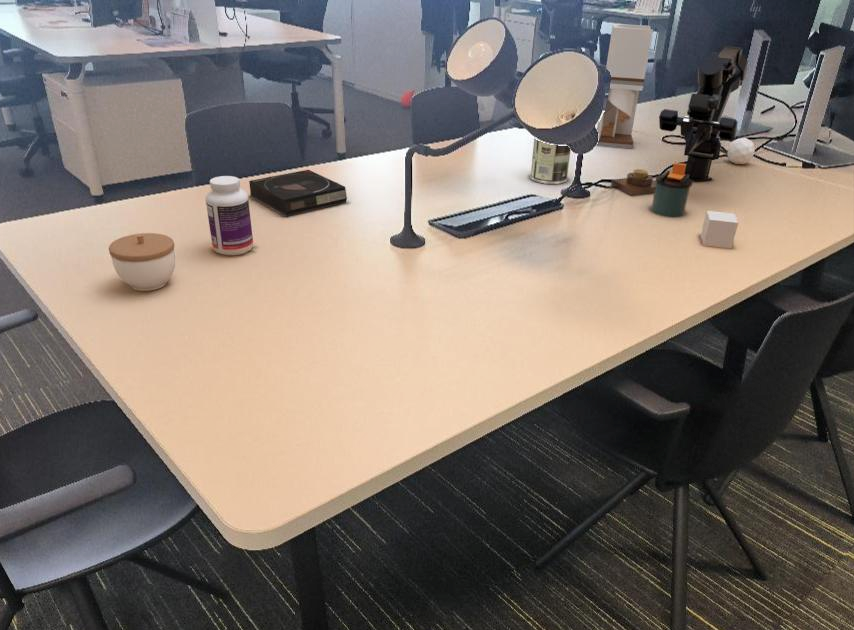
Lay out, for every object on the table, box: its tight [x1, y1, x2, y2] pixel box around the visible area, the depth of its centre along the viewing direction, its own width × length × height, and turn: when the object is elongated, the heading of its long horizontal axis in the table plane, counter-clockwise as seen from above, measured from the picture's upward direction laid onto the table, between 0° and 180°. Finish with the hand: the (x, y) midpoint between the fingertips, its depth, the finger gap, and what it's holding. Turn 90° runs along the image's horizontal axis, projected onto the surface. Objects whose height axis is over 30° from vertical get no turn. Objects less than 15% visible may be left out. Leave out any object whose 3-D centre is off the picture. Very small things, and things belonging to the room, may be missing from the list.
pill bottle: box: [205, 175, 254, 256], centre depth 139 cm, size 8×8×14 cm
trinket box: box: [108, 232, 176, 292], centre depth 125 cm, size 11×11×9 cm
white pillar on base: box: [596, 23, 654, 150], centre depth 221 cm, size 11×11×35 cm
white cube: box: [700, 210, 739, 249], centre depth 156 cm, size 6×6×6 cm
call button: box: [632, 168, 649, 179], centre depth 187 cm, size 4×4×2 cm
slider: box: [667, 162, 686, 180], centre depth 171 cm, size 5×3×3 cm
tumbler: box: [650, 170, 693, 218], centre depth 172 cm, size 9×9×9 cm
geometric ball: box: [726, 137, 756, 165], centre depth 213 cm, size 8×8×8 cm
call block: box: [610, 171, 657, 197], centre depth 188 cm, size 11×9×4 cm
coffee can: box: [529, 137, 571, 185], centre depth 190 cm, size 10×10×14 cm
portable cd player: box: [248, 169, 348, 218], centre depth 168 cm, size 16×17×4 cm
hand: (687, 153), depth 176 cm, fingers closed
